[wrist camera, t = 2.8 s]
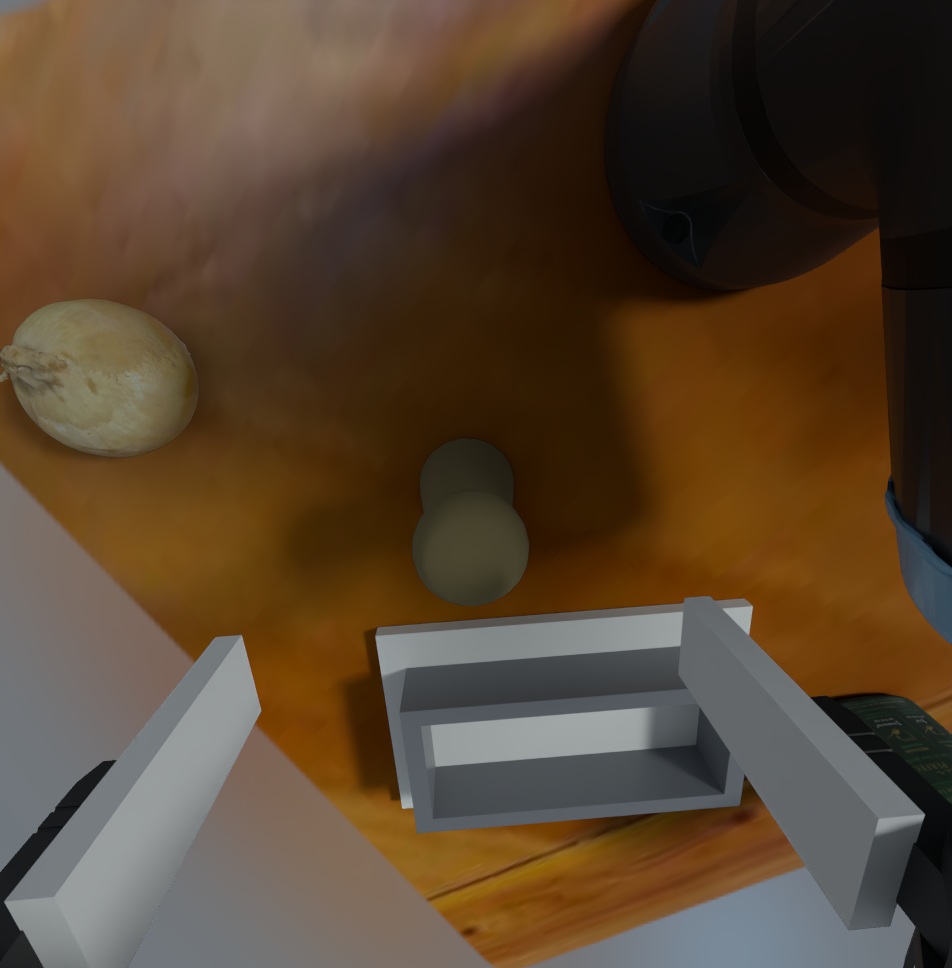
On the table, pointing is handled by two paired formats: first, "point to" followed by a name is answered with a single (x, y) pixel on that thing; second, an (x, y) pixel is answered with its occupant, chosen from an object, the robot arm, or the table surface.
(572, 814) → the slot well
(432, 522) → the cork
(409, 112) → the table surface
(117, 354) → the onion
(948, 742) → the coffee jar
